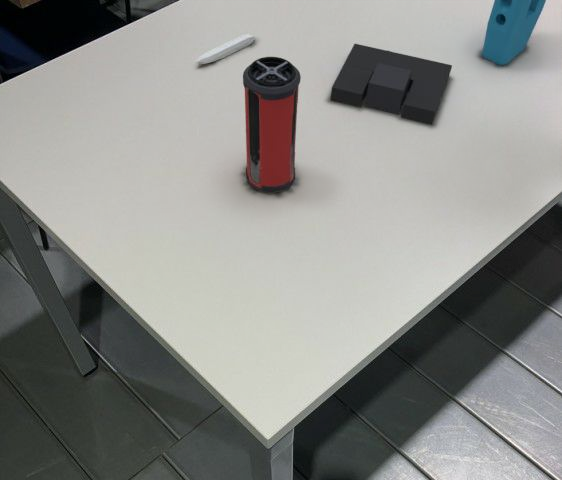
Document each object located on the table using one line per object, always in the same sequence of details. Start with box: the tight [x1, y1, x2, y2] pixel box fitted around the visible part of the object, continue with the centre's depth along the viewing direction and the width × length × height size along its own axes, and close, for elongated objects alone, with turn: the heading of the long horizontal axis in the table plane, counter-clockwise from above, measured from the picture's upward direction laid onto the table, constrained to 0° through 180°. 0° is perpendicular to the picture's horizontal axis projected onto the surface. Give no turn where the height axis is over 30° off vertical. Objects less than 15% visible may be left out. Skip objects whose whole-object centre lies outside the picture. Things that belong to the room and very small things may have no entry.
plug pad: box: [364, 63, 412, 115], centre depth 106 cm, size 6×6×4 cm
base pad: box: [330, 43, 453, 126], centre depth 109 cm, size 18×14×2 cm
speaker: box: [242, 56, 302, 193], centre depth 89 cm, size 8×8×18 cm
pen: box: [195, 33, 256, 65], centre depth 113 cm, size 2×14×2 cm, turn 132°
